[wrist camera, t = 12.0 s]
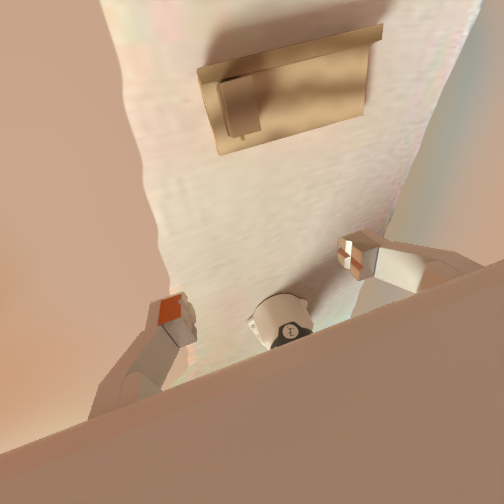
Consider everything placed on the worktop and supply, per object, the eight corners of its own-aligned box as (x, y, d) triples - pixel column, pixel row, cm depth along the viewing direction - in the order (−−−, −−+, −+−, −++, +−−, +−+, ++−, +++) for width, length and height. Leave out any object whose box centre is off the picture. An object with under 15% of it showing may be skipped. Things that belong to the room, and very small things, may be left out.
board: (355, 115, 38) (373, 114, 34) (218, 154, 35) (222, 158, 32) (361, 33, 32) (383, 23, 28) (196, 74, 29) (197, 68, 26)
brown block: (253, 136, 34) (262, 139, 29) (229, 143, 33) (235, 146, 29) (243, 80, 29) (252, 75, 25) (216, 87, 29) (221, 83, 25)
